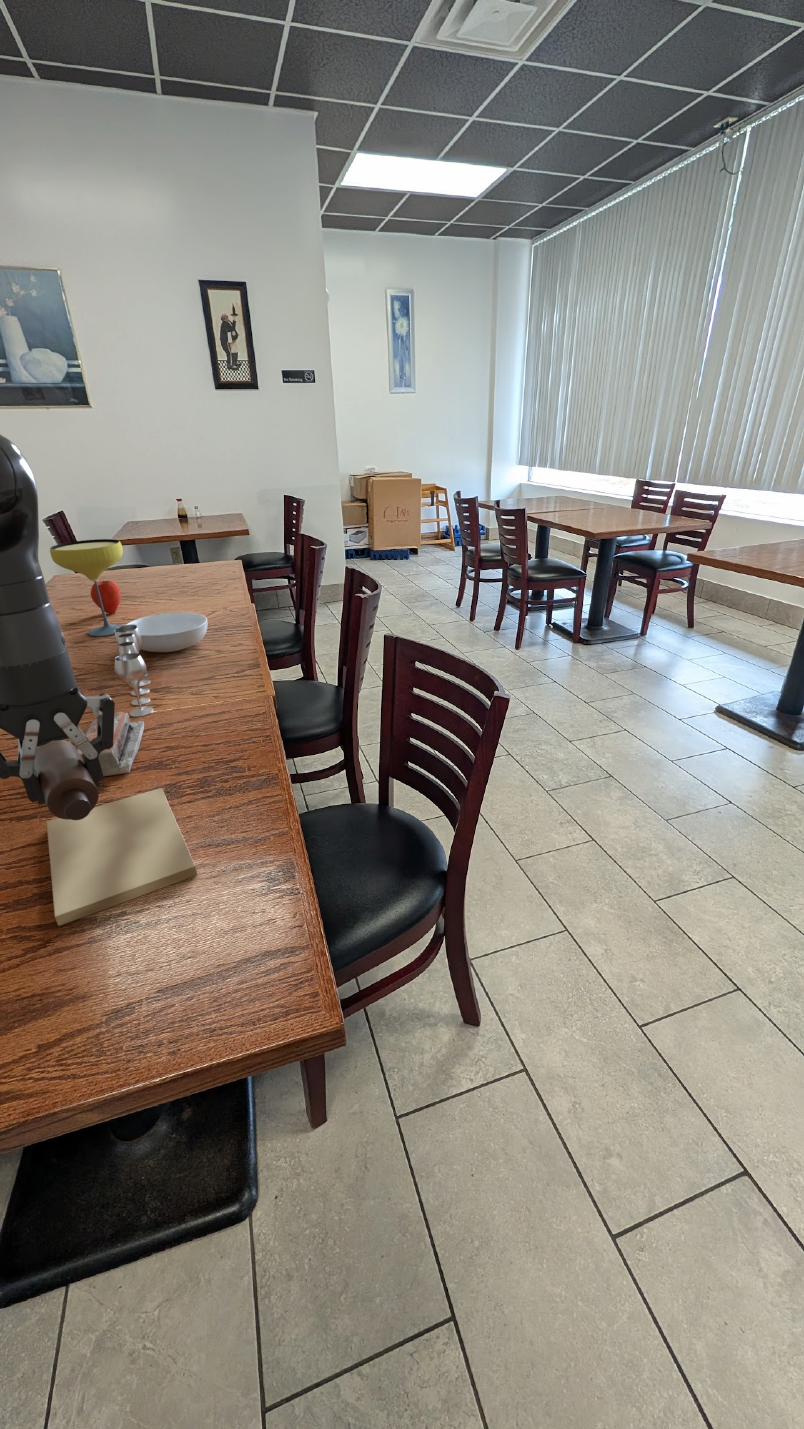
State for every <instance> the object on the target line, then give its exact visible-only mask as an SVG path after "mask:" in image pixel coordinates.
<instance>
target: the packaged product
mask: <svg viewBox="0 0 804 1429" xmlns="http://www.w3.org/2000/svg"><path fill="white" fill-rule="evenodd" d="M144 730H145V721H144V720H137V721H134V722H131V720H130V715H129V713H128V712H122V711H114V738H113V746H112V748H110V749H105V750H104V751H102V752H101V753H100V754H99V757H98V758H99V762H100V765H101V769H102V772H103V776H104V777H107V776H108V777H109V776H115V775H122V774H129V773H130V772H131V769H132V765H133V763H134V760H135V758H136V756H137V754H138V752H139V749H140V746H141V742H142V738H143V734H144ZM84 734H85V735H86V737H87V738H88V739H89V740H90V741H91V740H93V739H94V738H96V737H97V718H95V719H93V720H92V721H91V722H90V724H89V725H88V728H87V729H86V732H85V733H84ZM76 749H77V751H78V753H79V755H80V757H81V759H82V760H83V757H82V754H83V753H82V752H81V750H80V749H79V748H78V747H77V748H76ZM83 762H84V761H83Z"/></svg>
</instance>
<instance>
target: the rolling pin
mask: <svg viewBox="0 0 804 1429" xmlns="http://www.w3.org/2000/svg"><path fill="white" fill-rule="evenodd" d="M77 749H78V748H77V746H76V745H75V744H74V743H72V742H70V741H67V740H66V739H64V740H56V741H51V742H49V743H47V744H45V745H42V746H38V747H37V750H36V757H35V759H34V769H35V772H36V775H37V778H38V780H39V783H40V786H41V790H42V793H43V795H44V798H45V801H46V804H45V805H46V806H47V809H48V812H50V814H52V815H53V816H54V817H55V818H61V819H67V820H81V819H83V818H85V817H86V816H88V814H89V813H90V811H92V809H93V808H94V807H97V804H98V801H99V794H100V793H99V790H98V787H96V786H95V784H94V782H93V780H92V778H91V776H90V774H89V772H88V770H87V768H86V766H85V764H84V762H83V760H82V759H81V757H80V755H79V753H78V751H77Z"/></svg>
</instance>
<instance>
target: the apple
mask: <svg viewBox="0 0 804 1429" xmlns="http://www.w3.org/2000/svg"><path fill="white" fill-rule="evenodd" d="M97 585H98V589H99V593H100V597H101V601H102V604H103V608H104V611H105V614H116V612H117V611H118V608H119V606H120V602H121V590H120V587H119V586H118V584H116V583H115V581H114V582H113V581H112V580H102V581H97ZM90 598H91V600H92V602H93V603H94V604H95V605H96V606H97V607H98V608H100V609H101V606H100V602H99V598H98V595H97V591H96V587H95V583H94V582H93V584H92V586H91V589H90Z"/></svg>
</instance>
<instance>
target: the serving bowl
mask: <svg viewBox="0 0 804 1429" xmlns="http://www.w3.org/2000/svg"><path fill="white" fill-rule="evenodd" d="M130 624H134V625H137V626H138V629H139V631H140V635H141V641H142V643H141V649H140V650H142V651H145V652H151V653H174V652H179V651H182V650H185V649H187V648H190V647H192V646H195V645H197V643H199V642H201V640H203V638H204V637H205V635H206V634H207V631H208V618H207V616H205V615H204V614H200V613H195V612H187V611H186V612H185V611H184V612H183V611H182V612H181V611H180V612H165V613H157V614H152V615H147V616H143V617H139V618H136V619H134V620H131V621H129V622H128V623H126V624H125V625H130Z"/></svg>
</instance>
